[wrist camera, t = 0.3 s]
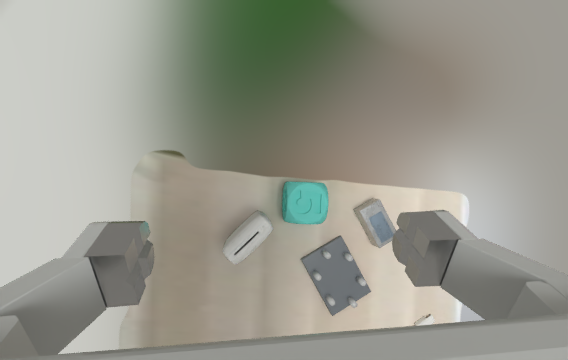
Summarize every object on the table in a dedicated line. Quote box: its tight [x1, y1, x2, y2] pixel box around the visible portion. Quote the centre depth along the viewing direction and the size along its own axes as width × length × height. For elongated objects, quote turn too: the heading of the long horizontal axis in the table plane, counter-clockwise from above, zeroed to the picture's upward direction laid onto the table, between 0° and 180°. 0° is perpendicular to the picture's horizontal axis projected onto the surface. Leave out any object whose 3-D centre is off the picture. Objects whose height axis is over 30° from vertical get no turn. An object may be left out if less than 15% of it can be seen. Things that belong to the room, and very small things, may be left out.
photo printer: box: [223, 211, 273, 264], centre depth 56 cm, size 10×4×12 cm, turn 133°
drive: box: [353, 199, 396, 248], centre depth 64 cm, size 9×5×4 cm, turn 28°
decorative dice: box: [282, 182, 328, 224], centre depth 60 cm, size 8×8×8 cm
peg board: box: [301, 236, 371, 316], centre depth 63 cm, size 14×10×4 cm
